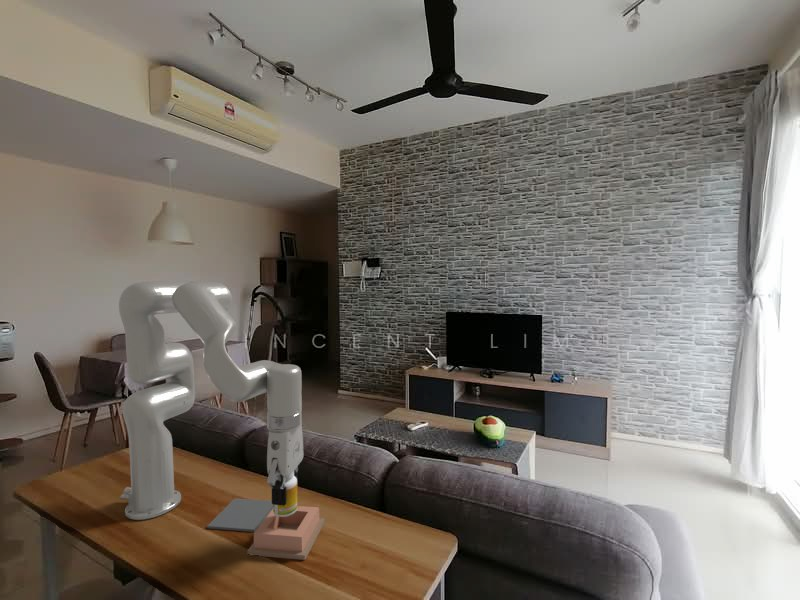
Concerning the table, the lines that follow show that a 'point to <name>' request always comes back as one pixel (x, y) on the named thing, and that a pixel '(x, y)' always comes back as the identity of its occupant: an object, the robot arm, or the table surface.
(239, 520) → the rubber mat
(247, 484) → the table surface
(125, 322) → the robot arm
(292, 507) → the supplement bottle
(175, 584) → the table surface
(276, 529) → the collar block
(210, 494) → the table surface
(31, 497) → the table surface
